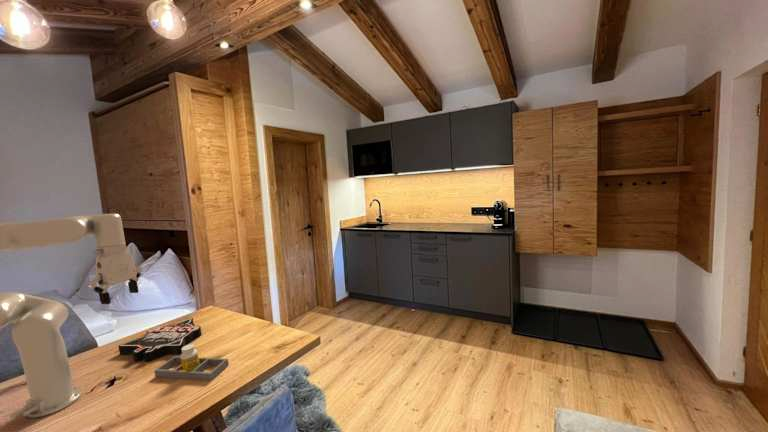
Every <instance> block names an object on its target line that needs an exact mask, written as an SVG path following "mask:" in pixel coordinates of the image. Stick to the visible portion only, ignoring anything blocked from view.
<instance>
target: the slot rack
mask: <svg viewBox="0 0 768 432" xmlns="http://www.w3.org/2000/svg"><path fill="white" fill-rule="evenodd" d="M198 357H199V364H200V365H199V366H198V367H196V368H195V369H194V370H193V371H187V370H183V369H182V363H181V355H173V357H171V358H170V359H169V360H167V361H166V362H164V363H162V364H161V365H160V366H158V367H157V368H155V369H154V371H153V372H154V377H155V378H167V379H168V378H169V379H180V380H181V379H182V380H195V381H198V380H199V381H210V382H211V381H213V380H214V379H215V378H217V376H218V375H220V373H222V371H224V370H225V369H226V368H227V367H228V366H229V365H230V364H229V359H228V358H219V357H218V358H217V357H205V356H199V355H198ZM176 364H179V366H178V367H176V368H175V369H171V367H173V366H174V365H176ZM209 366H214V368H213V369H212V370H211V371H210V372H207V371H205V370H206V369H207V368H209ZM215 366H216V367H215Z"/></svg>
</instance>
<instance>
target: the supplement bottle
mask: <svg viewBox="0 0 768 432" xmlns="http://www.w3.org/2000/svg"><path fill="white" fill-rule="evenodd" d="M195 346H196V345H195V344H191V343H189V344H188V345H186V346H184V347H183V348H182V349H181V350H182V354H181V355H180V356H181V363H182V369H183V370H187V371H193V370H194V369H195V368H196V367H198V366H199V365H200V364H199V357H198V356H199V352H198V349H196V347H195Z"/></svg>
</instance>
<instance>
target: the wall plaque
mask: <svg viewBox="0 0 768 432" xmlns="http://www.w3.org/2000/svg"><path fill="white" fill-rule="evenodd" d="M201 336H203V335H202V328H201V325H195V324H194V318H193V317H190V318H187V319H184V320H182V321H179V322H176V323H172V324H168V325H158V326H155V327H154V328H152V329H151V328H150V329H148V330H146V333H145V334H143V335H141V336H140V337H139V336H138V337H137V338H134V339H131V340H129V341H126V342H123V343H121V344H119V345H118V352H119V355H120V356H132V358H133V362H135V363H139V362H141V361H143V360H144V362H145V363H150V362H153V361H155V360H157V359H160V358H163V357H164V356H165V357H166V356H172V355H173V356H181V354H182V350H181V349H182V348H183V347H184V346H186V345H189V344H191V343H193V341H194V340H196V339H198V338H199V339H200V337H201Z"/></svg>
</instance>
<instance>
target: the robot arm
mask: <svg viewBox="0 0 768 432" xmlns="http://www.w3.org/2000/svg"><path fill="white" fill-rule="evenodd" d="M92 236H93V237H94V242H95V248H96V250H94V251H93V254H94V255H97V256H96V257H95V273H96V274H95V276H94V277H93V278H92V279H91V280H90V281H89V282H88V283H87V286H88V287H89V289H91V291H93V292H95V293H97V294H98V297H99V302H100V304H101V305H110V304H111V303H112V301H111V296H110V292H109V291H108V289H109V288H110V287H111V286H114V285H115V286H116V285H119V284H121V283H124V282H127V281H128V282H127V285H128V291H129V294H130V293H131V294H137V293H139V286H138V282H139V278H140V277H141V273H142V267H141V266H137V265H135V262H134V258H133V256H132V254H131V252H130V250H127V245H126V238H125V233H124V227H123V220H122V217H121V214H119V213H103V214H96V215H74V216H68V217H64V218H59V219H50V220H44V221H43V220H42V221H33V222H25V223H24V222H13V221H11V222H2V223H0V254H2V253H7V252H15V251H23V250H28V249H33V248H43V247H49V246H57V245H62V244H69V243H75V242H77V241H80V240H82V239H84V238H87V237H92ZM68 317H69V309H68V307H67V306H66V305H65V304H63V303H61V302H60V301H56V300H52V299H49V298H44V297H40V296H35V295H30V294H27V293H22V292H18V291H17V292H16V291H3V292H0V330H2V329H3V328H4V327H6V326H8V325H9V324H14V326H13V327H12V331H11V337H12V340H13V342H14V345H15V346H16V349H17V350H18V354H19V356H20V361H21V365H22V367H23V372H24V378H25V381H26V386H27V391H28V394H29V399H27V400H26V401H25V403H26V404H24V405H23V406H22V407H21V408H20V409H17V410H16V411H13V412H12V413H10V414H9V418H10V419H11V420H12V421H14V420H16V419H17V418H20V417H21V416H22V417H25V418H29V419H30V418H31V419H35V418H41V417H44V416H48V415H51V414H54V413H56V412H58V411H61V410H64V409H65V408H66V407H69V406H70V405H72V404H73V403H75V402H76V401H77V400H78V399H79V398H80V397H81V396H82V394H83V391H82V388H81V387H78V386H74V381H73V377H72V376H73V375H72V371H71V367H70V363H69V358H68V353H67V352H68V351H67V348H66V344H65V340H64V338H63V336H62V334H61V331H60V328H61V327H62V326H63V324H64V323H65V322H66V321H67V319H68Z"/></svg>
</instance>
